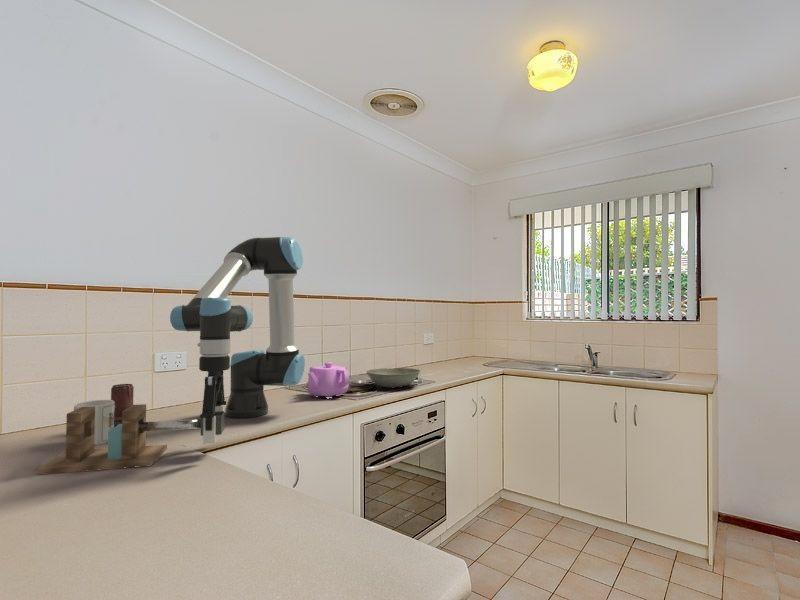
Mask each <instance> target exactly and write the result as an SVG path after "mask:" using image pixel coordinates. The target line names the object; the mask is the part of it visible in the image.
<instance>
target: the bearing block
mask: <svg viewBox="0 0 800 600" xmlns="http://www.w3.org/2000/svg"><path fill="white" fill-rule="evenodd" d="M138 422H147V404H142V403H141V404H140V403H139V404H133V405H132V406H131V407H129V408H127V409H126V410H124V411H122V459H114V460H108V447H106V448H105V447H104V448H95V445H94V437H95V406H93V407H81V408H78V409H76V410H74V409H73V410H72V411H70V412H67V413H66V425H65V426H66V428H65V431H66V432H65V451H64V452H63V453H61V454H59V455H57V456H56V457H54V458H53V459H51V460H49V461H48V462H46V463H44V464H42V465H41V466H40V467H38V468H36V475H46V474H47V475H49V474H62V473H63V474H64V473H75V472H76V471H78V472H87V471H86V470H92V471H99V470H98V469H105V470H111V469H110V468H119V469H125V468H124V467H133V468H136V467H135V466H147V467H149V466H148V465H152V464H153V463H154V462H155V461H156V460H157V461H158V460H159V459H160V458H161V456H162V455H163V454H164V453H165V452H166V451H167V450H168V444H156V445H147V444H146V442H147V441H146V440H147V439H146V438H147V437H146V436H147V431H146V432H138ZM157 461H156V462H157ZM156 462H155V463H156ZM155 463H154V464H155ZM154 464H153V465H154ZM153 465H152V466H153ZM76 473H77V472H76Z"/></svg>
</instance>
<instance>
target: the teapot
mask: <svg viewBox="0 0 800 600" xmlns="http://www.w3.org/2000/svg"><path fill="white" fill-rule="evenodd" d="M307 375H308V381H307V391H308V394H309V395H313V396H320V397H321V396H322V397H325V398H326V397H332V398H333V396H336V395H338V394H342V395H343V394H346V393H347V392H348V390H349V384H350V378H349V377H350V376H349V370H348V367H346V366H339V365H333V362H330V361H329V362H326V361H325V362H324V365H321V366H311V367H309V372H307Z"/></svg>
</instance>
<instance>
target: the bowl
mask: <svg viewBox="0 0 800 600" xmlns="http://www.w3.org/2000/svg"><path fill="white" fill-rule="evenodd" d="M420 373H421V369H417V368H409V367H394V368H393V367H392V368H389V367H386V368H372V369H369V370H366V375H367V376H368V378H369V379H370V380H371V381H372V382H373V383H374V384H375V385H377V386H380V387H383V388H389V387H398V388H402V387H401V386H404V387H406V385H407V386H409V385H411V384H412V383H413V382H414V381H416V379H417V378H418V377H419V375H420Z"/></svg>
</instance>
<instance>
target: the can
mask: <svg viewBox="0 0 800 600" xmlns="http://www.w3.org/2000/svg"><path fill="white" fill-rule="evenodd" d="M134 392H135V391H134V385H133V383H120V384H119V383H118V384H114V385H112V387H111V389H110V400H113V401H115V410H114V427H116V426H117V425H119V424H122V411H124V410H126V409H127V408H129V407H131V406H132V405H134Z"/></svg>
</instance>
